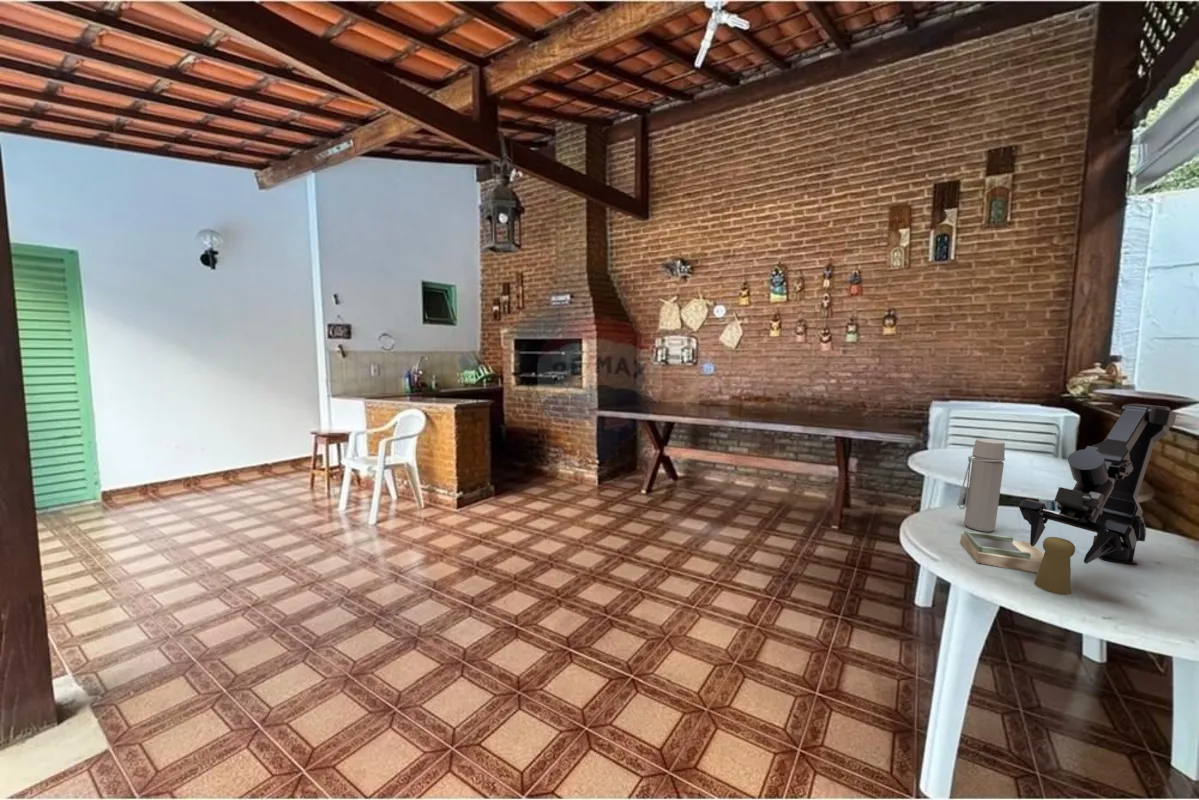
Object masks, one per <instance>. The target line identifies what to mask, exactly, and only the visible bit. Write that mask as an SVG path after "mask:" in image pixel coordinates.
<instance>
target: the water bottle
mask: <svg viewBox="0 0 1199 800" xmlns="http://www.w3.org/2000/svg"><path fill="white" fill-rule="evenodd" d="M1005 447H1006V446H1005V441H1002V440H997V439H993V438H991V439H990V438H975V441H974V446H973V448H972V455H969V456H967V459H968V463H967V464H968V465H967V468H966V471H965V476H964V479H963V481H962V482H963V483H962V487H961V491H960V494H959V498H958V508H959V510H965V513H964V514H965V515H964V521H963V522H964V525H965V526H967V528H970V529H972V530H974V531H978V532H986V533H987V532H990V533H991V532H993V531H995V529H996V525H997V524H996V523H997V518H998V517H997V516H998V509H999V502H1000V501H999V500H1000V495H1001V487H1002V479H1003V473H1004V467H1005V466H1004V465H1005V463H1004V462H1006V461H1005V460H1006V458H1005V450H1006V449H1005ZM966 480H967V482H966ZM965 484H966V492H965V501H964V506H962V507H961V499H962V496H963V492H964V488H965Z"/></svg>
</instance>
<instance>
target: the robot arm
mask: <svg viewBox="0 0 1199 800" xmlns="http://www.w3.org/2000/svg"><path fill="white" fill-rule="evenodd" d="M1121 406H1122V407H1121V409H1120V410H1121V411H1120V416H1119V417H1118V418H1117V421H1115V424H1114V425H1113V427H1112V428H1111V429H1110V431H1109V432H1108V434H1107V436H1106V437H1105V439H1104V440H1103V441H1101V442H1099V443H1095V444H1093V445H1092V446H1091V445H1087V446H1086V447H1085V449H1084V448H1083V449H1079V450H1075V451H1073V452H1072V453H1070V454H1069V455H1068V456H1067V462H1068V466H1069V470H1070V472H1071V475H1072V478H1073V480H1074V481H1075V482H1076V483H1075V485H1074V486H1073V489H1070V488H1066V487H1058V489H1057V491H1056V495H1055V498H1054V499H1053V500H1054V502H1056V503H1057V505H1056V508H1057V510H1060V511H1059V512H1057V511H1052V510H1048V508H1047V505H1046V504H1045V502H1042V501H1037V500H1033V499H1030V498H1025V499H1023V500H1021V501H1020V503H1019V505H1018V508H1019V510H1020V513H1021V515H1022V518H1023V520H1025V521H1027V522H1028V524H1029V525H1030V537H1029V538H1030V541H1029V543H1030V544H1031V546H1036V544H1037V543H1038V541H1039V539H1040V537H1041V536H1042V534H1043V532H1044V531H1045V529H1046V526H1045V524H1047V523H1048V521H1053V522H1057V523H1060V524H1064V525H1068V526H1070V527H1074V528H1078V529H1082V530H1085V531H1089V532H1093V533H1095V534H1096V535H1093V540H1092V545H1091V546H1090V548H1089V549H1088V551H1087V552H1086V554H1085V556H1084V559H1083V562H1084V564H1086V565H1087V564H1090V563H1091V562H1092V561H1095V560H1097V559H1098V558H1100V559H1102V560H1103V561H1106V562H1107V561H1109V562H1115V563H1121V564H1130V565H1138V562H1137V561H1135V560H1134V556H1135V551H1136V546H1137V542H1145V541H1146V537H1147V528H1146V523H1145V520H1144V517H1143V513H1144V512H1143V509H1142V508H1141V505H1140V503H1139V501H1138V496H1139V493H1140V490H1141V488H1142V484H1143V480H1144V478H1145V476H1146V475H1145V474H1146V471H1147V468H1148V464H1149V462H1150V458H1151V456H1152V453H1153V448H1154V446H1155V444H1156V443H1157V442H1158V441H1159V440H1161V439H1163V438H1165V437H1166V436H1167V435H1168V433H1169V430H1170V428H1171V427H1172V428H1173V427H1174V425H1175V423H1176V418H1177V413H1176V412H1175V411H1172V410H1171V408H1170V407H1169V406H1162V405H1161V406H1160V405H1151V404H1142V403H1128V404H1123V405H1121ZM1112 480H1114V482H1113V481H1112Z"/></svg>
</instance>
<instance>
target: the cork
mask: <svg viewBox="0 0 1199 800" xmlns="http://www.w3.org/2000/svg"><path fill="white" fill-rule="evenodd" d="M1042 549H1043V551H1044V552H1043V553H1044V556H1043V559H1042V562H1041V565H1040V568H1039V571H1038V573H1037V572H1036V573H1037V574H1036V577H1035V580H1034V583H1033V584H1034V585H1035V586H1036V587H1037V588H1040V589H1041V590H1044V591H1046V592H1050V593H1052V594H1058V595H1062V596H1064V595H1065V596H1067V595H1068V596H1069V595H1071V593H1072V582H1071V579H1072V578H1071V576H1072V575H1071V571H1072V570H1071V558H1072V557H1073V556H1074V554H1075V552H1076V545H1075V544H1074V543H1073V542H1072V541H1070V540H1068V539H1065V538H1062V537H1057V536H1047V537H1045V538H1044V540H1043V541H1042Z"/></svg>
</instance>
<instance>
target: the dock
mask: <svg viewBox="0 0 1199 800" xmlns="http://www.w3.org/2000/svg"><path fill="white" fill-rule="evenodd" d="M959 544H961V545H963V546H964V547H963V546H962V547H963V548H964V549H965V550H966V552H967V551H968V552H969V553H968V555H970V557H973V558H974V559H975V560H976V561H975V560H974V559H973V558H972V559H973V560H974V561H975V563H976V564H977V563H981V564H980V565H984V564H988V565H987V566H991V565H993V566H992V567H997V566H998V567H999V568H1005V569H1011V570H1018V571H1024V572H1025V571H1026V572H1032V573H1038V571H1039V568H1040V565H1041V562H1042V559H1043V556H1044V553H1045V552H1043V551H1042V550H1040V549H1039V548H1038V547H1037V546H1036V545H1034V546H1031V544H1030V542H1027V541H1019V540H1014V537H1012V536H1005V535H997V534H992V533H991V534H989V533H983V532H975V531H967V530H964V532H963V533H961V534H960V540H959Z"/></svg>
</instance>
